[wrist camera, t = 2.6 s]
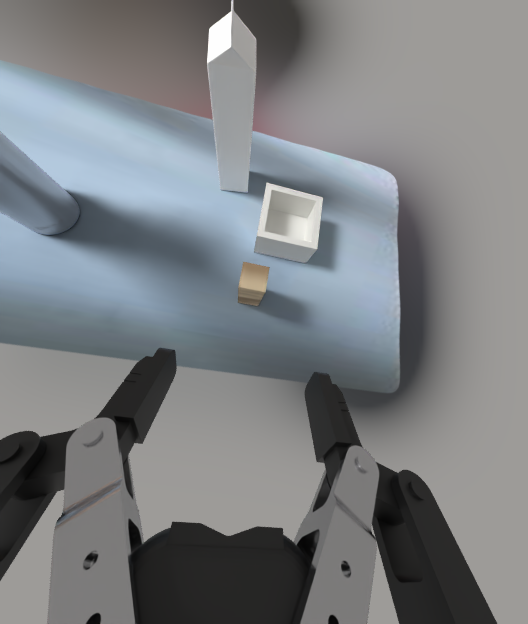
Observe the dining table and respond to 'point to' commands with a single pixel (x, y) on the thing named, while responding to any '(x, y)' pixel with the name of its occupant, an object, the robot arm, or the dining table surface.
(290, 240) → the white well
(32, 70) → the dining table surface
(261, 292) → the beech post
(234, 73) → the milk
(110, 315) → the dining table surface
